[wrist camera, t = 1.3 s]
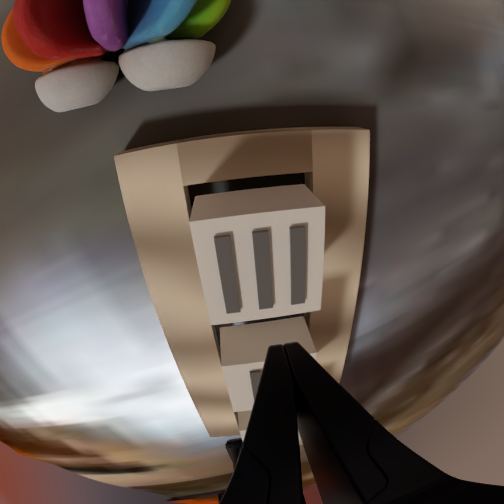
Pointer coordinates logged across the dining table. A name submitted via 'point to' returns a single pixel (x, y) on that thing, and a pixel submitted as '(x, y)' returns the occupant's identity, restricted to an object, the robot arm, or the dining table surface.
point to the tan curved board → (183, 254)
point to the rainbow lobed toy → (109, 45)
